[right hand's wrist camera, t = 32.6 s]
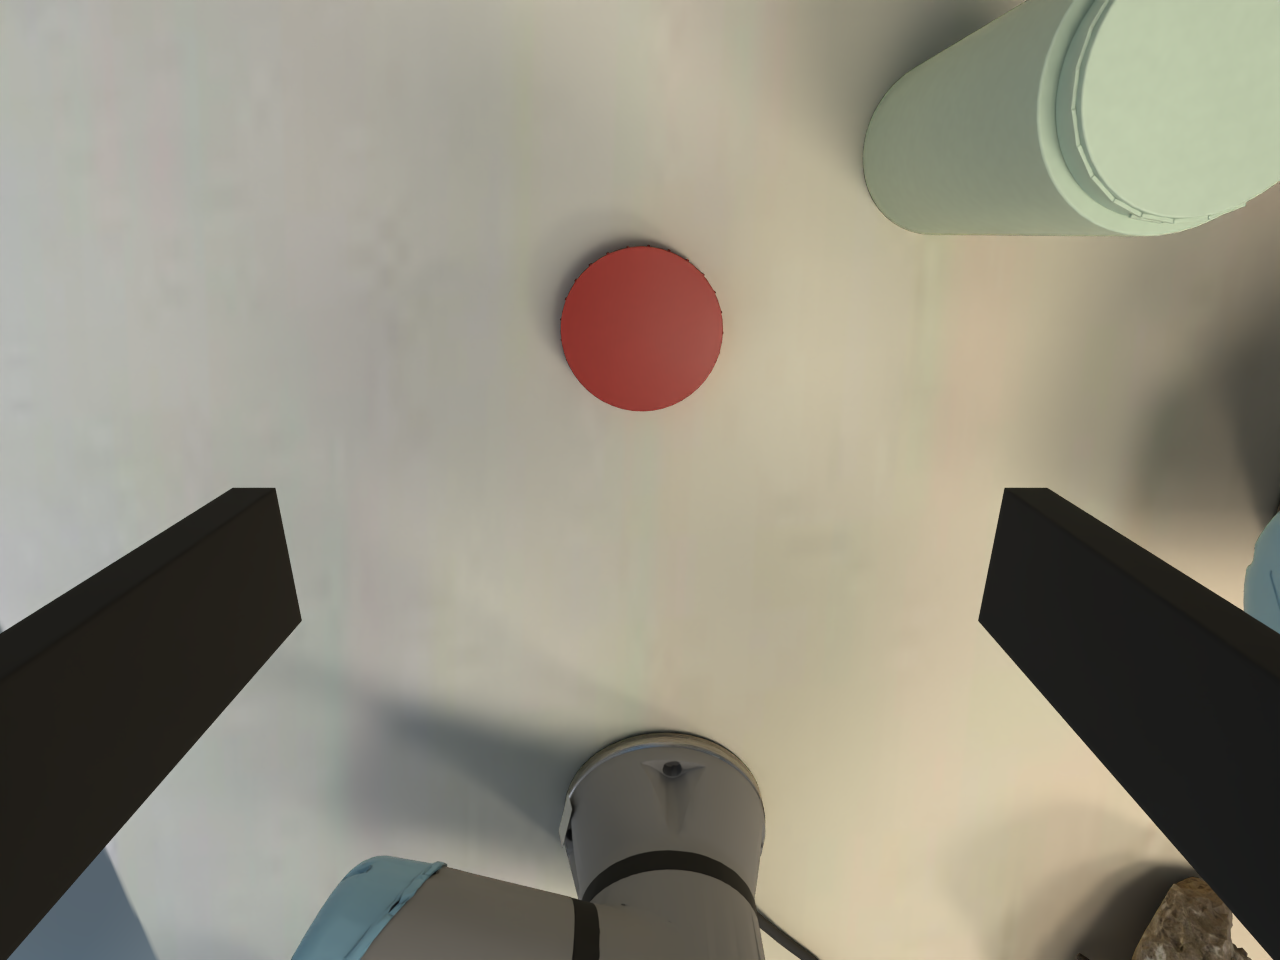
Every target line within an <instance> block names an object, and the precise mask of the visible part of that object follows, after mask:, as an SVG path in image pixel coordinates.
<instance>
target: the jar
mask: <svg viewBox="0 0 1280 960" xmlns="http://www.w3.org/2000/svg"><path fill="white" fill-rule="evenodd" d="M863 169H864V175H865V181H866V184H867V187H868V190H869V192H870V194H871V197H872V199H873V201H874V202H875V204H876V205H877V207H878V208H879V209H880V211H881V212H882V213H883V214H884V215H885V216H886V217H887V218H888V219H889V220H891V221H892V222H893V223H895V224H896V225H898V226H900V227H901V228H904V229H906V230H909V231H911V232H915V233H919V234H928V235H1024V236H1141V237H1142V236H1161V235H1167V234H1173V233H1178V232H1181V231H1185V230H1188V229H1191V228H1195V227H1197V226H1200V225H1202V224H1204V223H1207V222H1209V221H1211V220H1213V219H1215V218H1217V217H1219V216H1221V215H1223V214H1226V213H1229V212H1231V211H1234V210H1237V209H1239V208H1242V207H1245V206H1246V202H1247V201H1249V200H1251V199H1253V198H1254V197H1256V196H1258V195H1260V194H1261V193H1263V192H1265V191H1266V190H1268V189H1269V188H1270V187H1272V186H1273V185H1275V184H1276V183H1277V182H1279V181H1280V0H1027V1H1025V2H1024V3H1022V4H1020V5H1019V6H1017V7H1015V8H1014V9H1012V10H1010V11H1009V12H1007V13H1005V14H1004V15H1002V16H1000V17H999V18H997V19H995V20H994V21H992V22H990V23H989V24H987V25H985V26H984V27H982V28H980V29H979V30H977V31H975V32H974V33H972V34H970V35H969V36H967V37H965V38H964V39H962V40H960V41H959V42H957V43H955V44H954V45H952V46H950V47H949V48H947V49H945V50H944V51H942V52H940V53H939V54H937V55H935V56H934V57H932V58H930V59H929V60H927V61H925V62H924V63H922V64H920V65H919V66H917V67H915V68H914V69H912V70H911V71H909V72H908V73H906V74H905V75H904V76H903V77H901V78H900V79H899V80H898V81H897V82H896V83H895V84H894V85H893V86H892V87H891V88H890V89H889V90H888V91H887V93H886V94H885V96H884V97H883V98H882V100H881V101H880V103H879V105H878V106H877V108H876V110H875V111H874V114H873V116H872V118H871V121H870V123H869V126H868V129H867V133H866V137H865V142H864V149H863Z"/></svg>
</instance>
